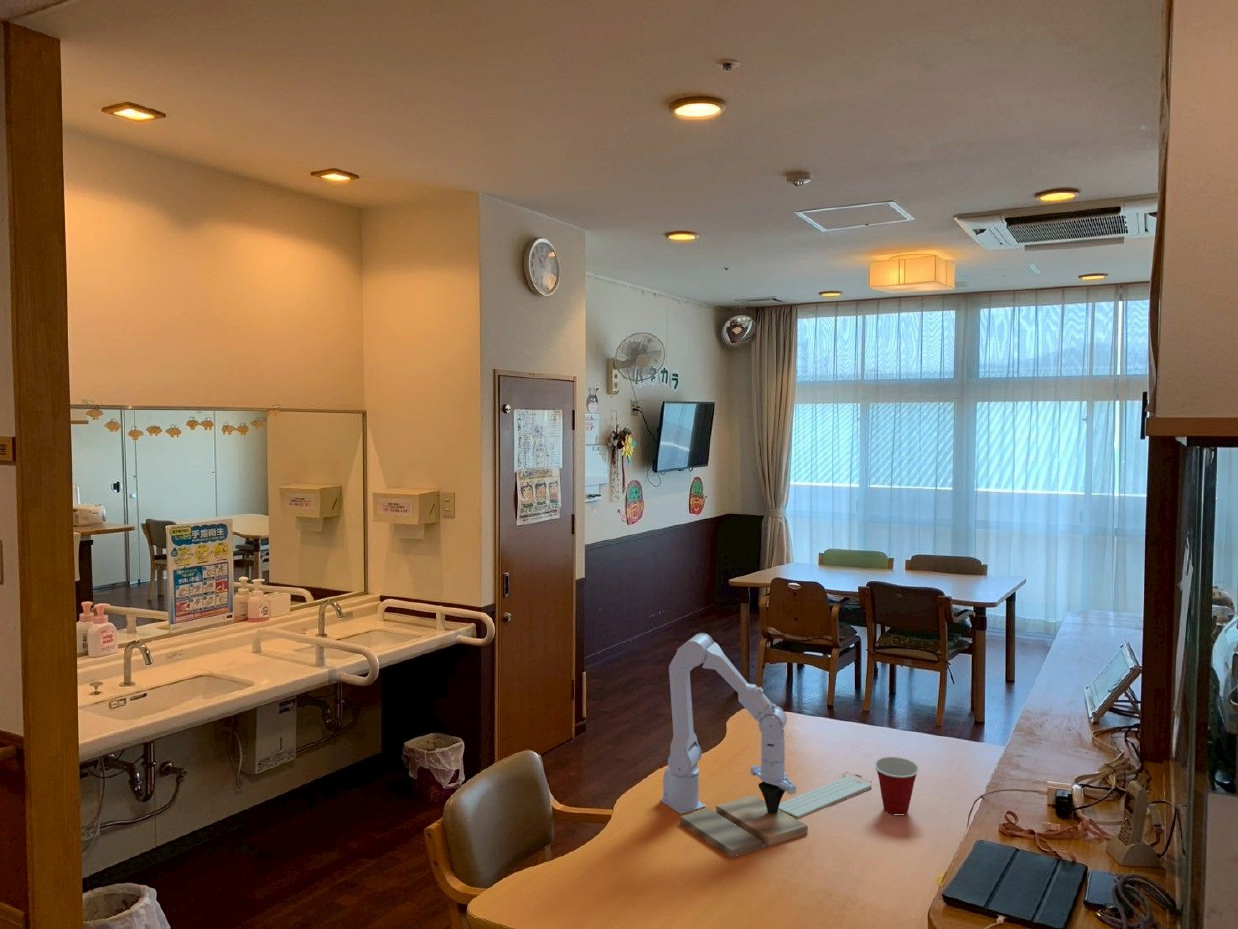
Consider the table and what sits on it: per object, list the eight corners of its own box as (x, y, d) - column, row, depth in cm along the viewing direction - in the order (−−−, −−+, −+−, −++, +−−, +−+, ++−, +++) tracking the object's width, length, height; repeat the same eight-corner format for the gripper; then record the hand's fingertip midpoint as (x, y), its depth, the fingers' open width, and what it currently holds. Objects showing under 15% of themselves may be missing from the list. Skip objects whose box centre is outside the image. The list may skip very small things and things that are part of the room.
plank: (716, 813, 226) (716, 805, 226) (753, 802, 232) (753, 795, 232) (768, 846, 209) (768, 837, 209) (807, 833, 215) (807, 825, 215)
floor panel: (680, 824, 220) (680, 816, 220) (714, 814, 226) (714, 806, 226) (731, 858, 203) (731, 850, 203) (766, 847, 209) (766, 839, 209)
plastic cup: (870, 816, 225) (871, 769, 224) (875, 799, 235) (876, 754, 234) (916, 824, 221) (917, 776, 220) (919, 806, 231) (920, 760, 230)
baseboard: (767, 808, 231) (797, 822, 223) (767, 797, 231) (797, 811, 223) (841, 778, 250) (871, 790, 242) (841, 768, 250) (872, 780, 242)
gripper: (805, 764, 217) (805, 819, 218) (765, 746, 230) (765, 798, 231) (783, 770, 214) (783, 826, 214) (744, 751, 226) (744, 804, 227)
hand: (772, 812), depth 222 cm, fingers closed, pressing on plank
